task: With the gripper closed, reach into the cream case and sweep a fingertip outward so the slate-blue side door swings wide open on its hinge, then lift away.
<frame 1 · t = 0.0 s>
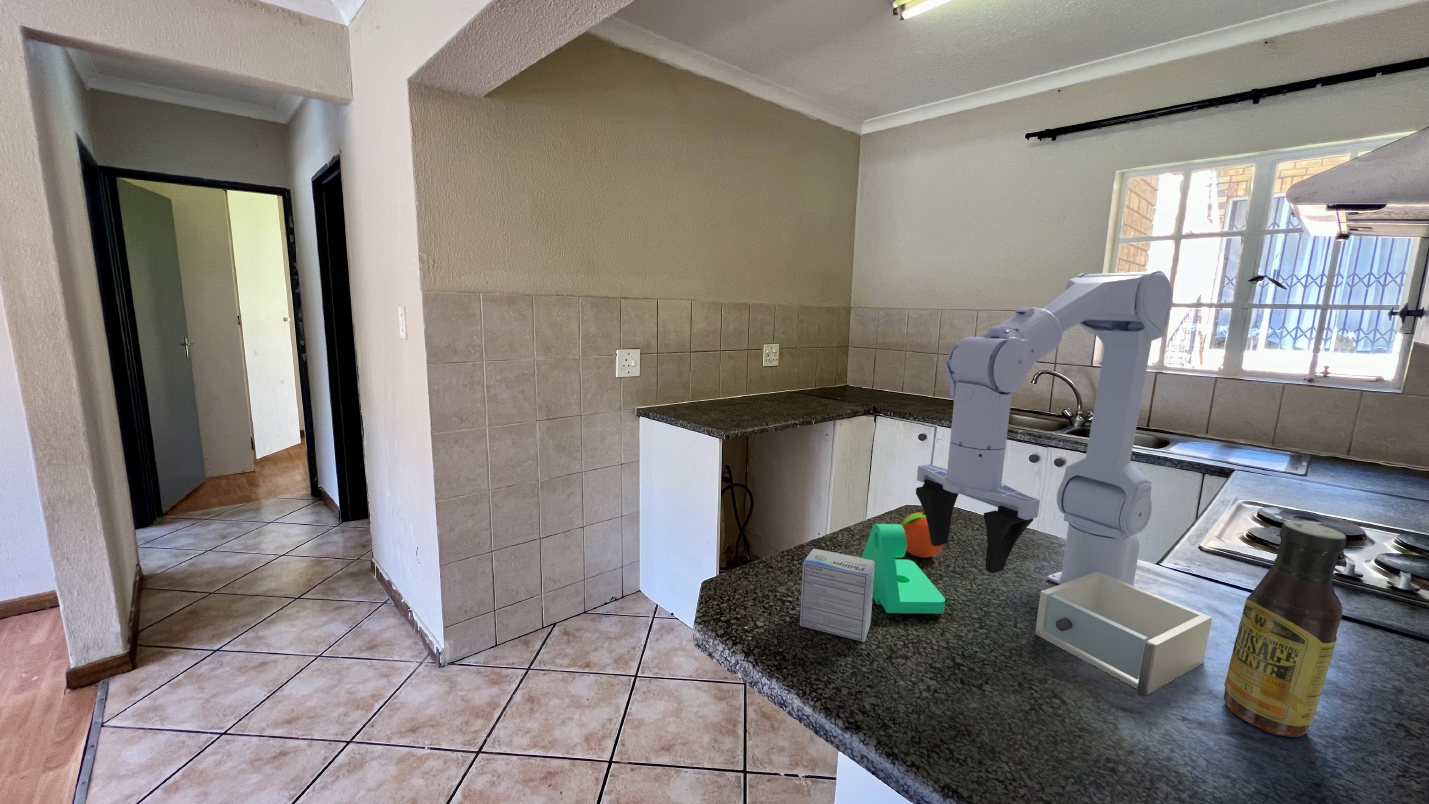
hand: (965, 556, 66), 10 cm above the countertop, tool pointing down, fingers open, 7 cm apart
medicine box: (834, 627, 69), on the countertop
sauce bottle: (1265, 721, 55), on the countertop
clementine: (917, 557, 89), on the countertop
camera mount: (899, 598, 77), on the countertop
case door: (1090, 635, 62), point 3 cm above the countertop, hinge at 0.0°
cream case: (1116, 647, 66), on the countertop
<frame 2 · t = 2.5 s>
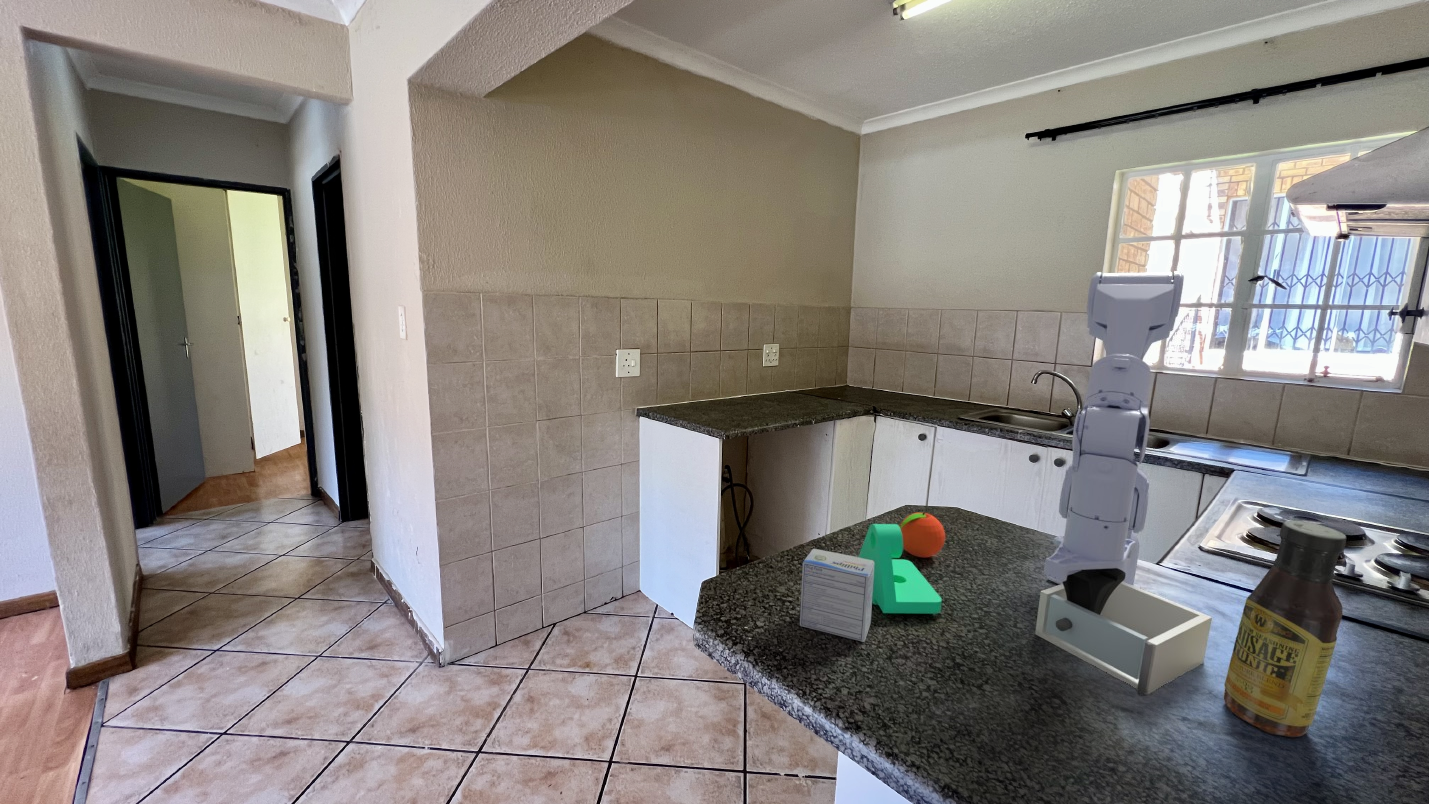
hand: (1081, 624, 65), 3 cm above the countertop, tool pointing down, fingers closed
case door: (1090, 635, 62), point 3 cm above the countertop, hinge at 0.1°, touching gripper
everything else where it was.
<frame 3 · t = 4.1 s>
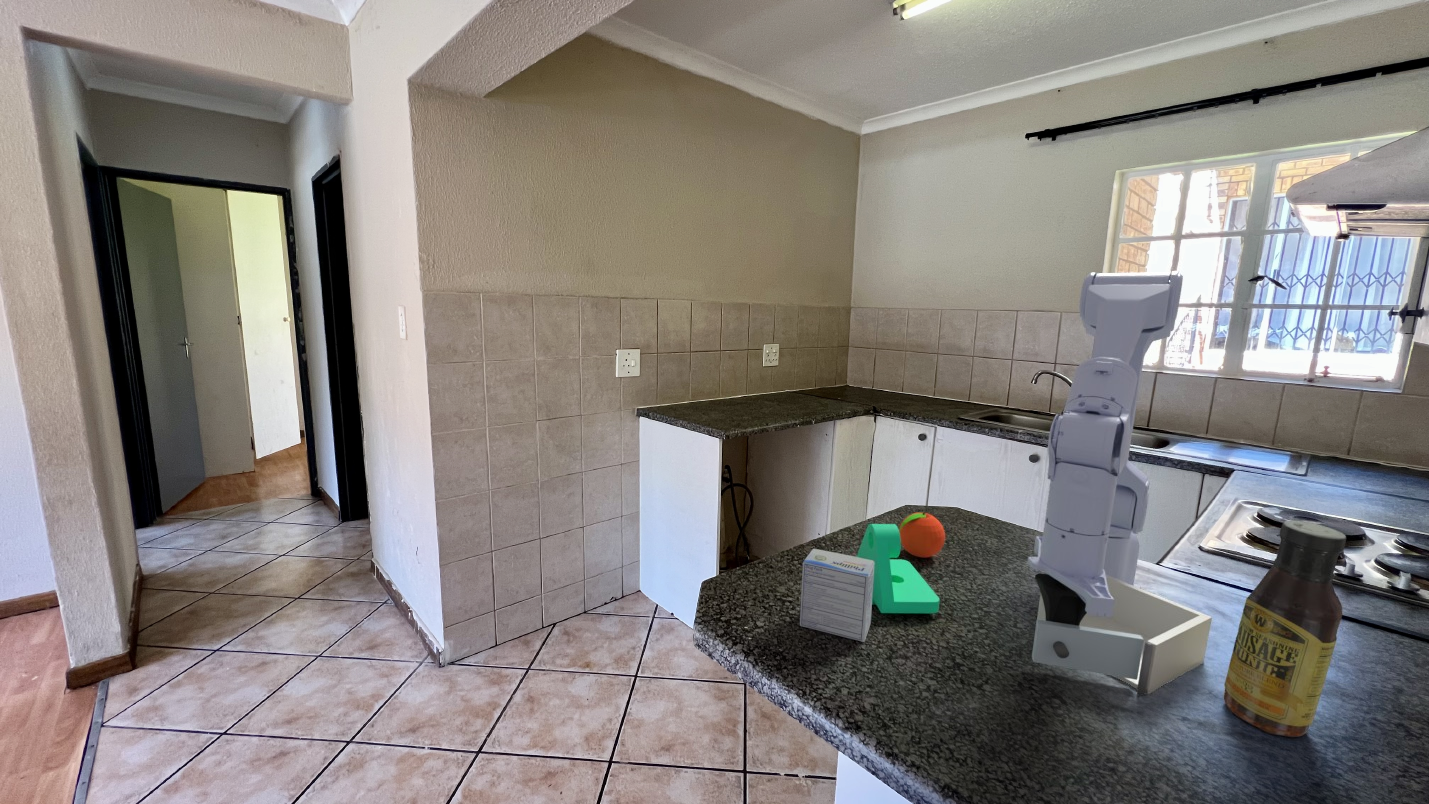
hand: (1059, 642, 61), 3 cm above the countertop, tool pointing down, fingers closed
case door: (1087, 652, 59), point 3 cm above the countertop, hinge at 46.6°, touching gripper
everything else where it was.
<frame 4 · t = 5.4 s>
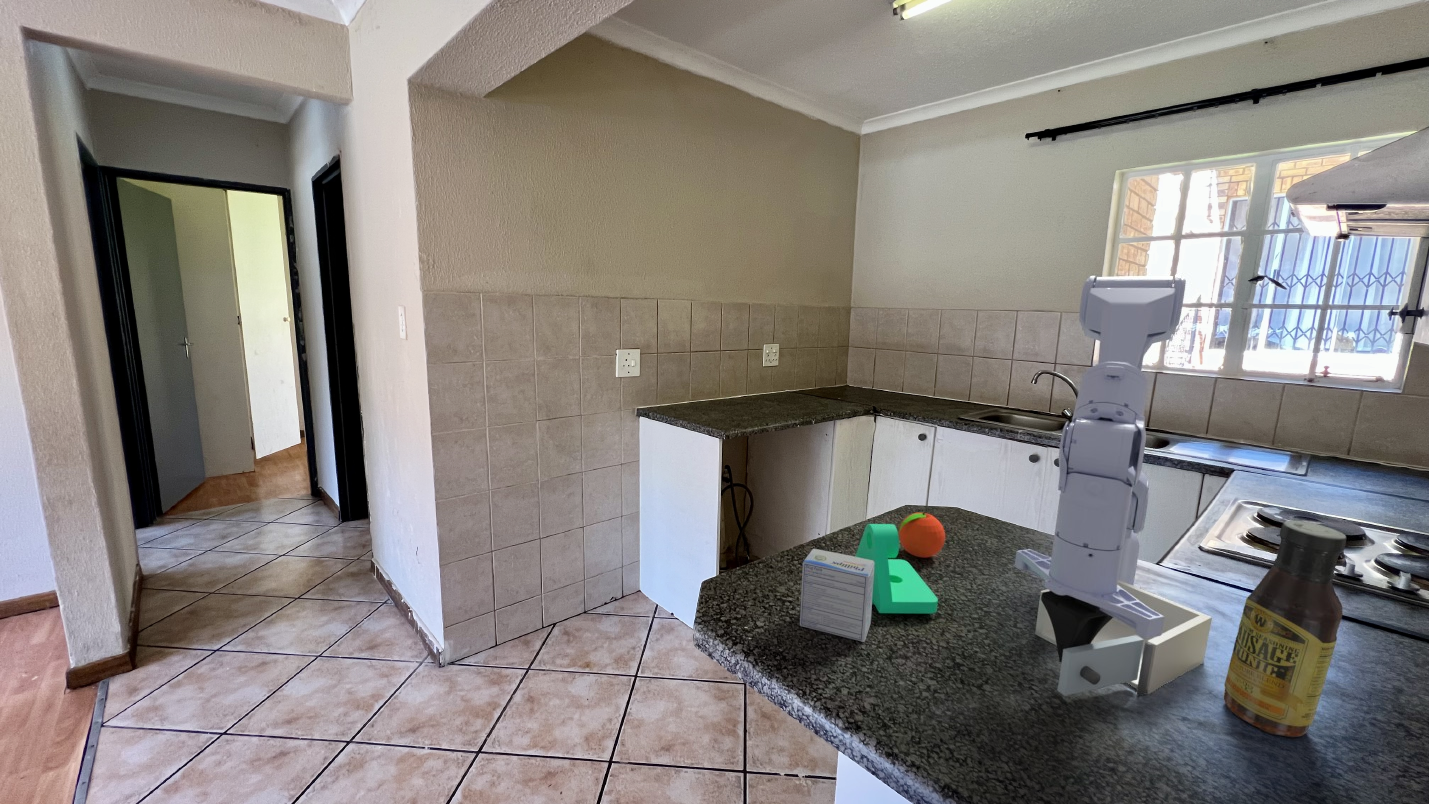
hand: (1070, 662, 58), 3 cm above the countertop, tool pointing down, fingers closed
case door: (1106, 668, 56), point 3 cm above the countertop, hinge at 78.7°, touching gripper
everything else where it was.
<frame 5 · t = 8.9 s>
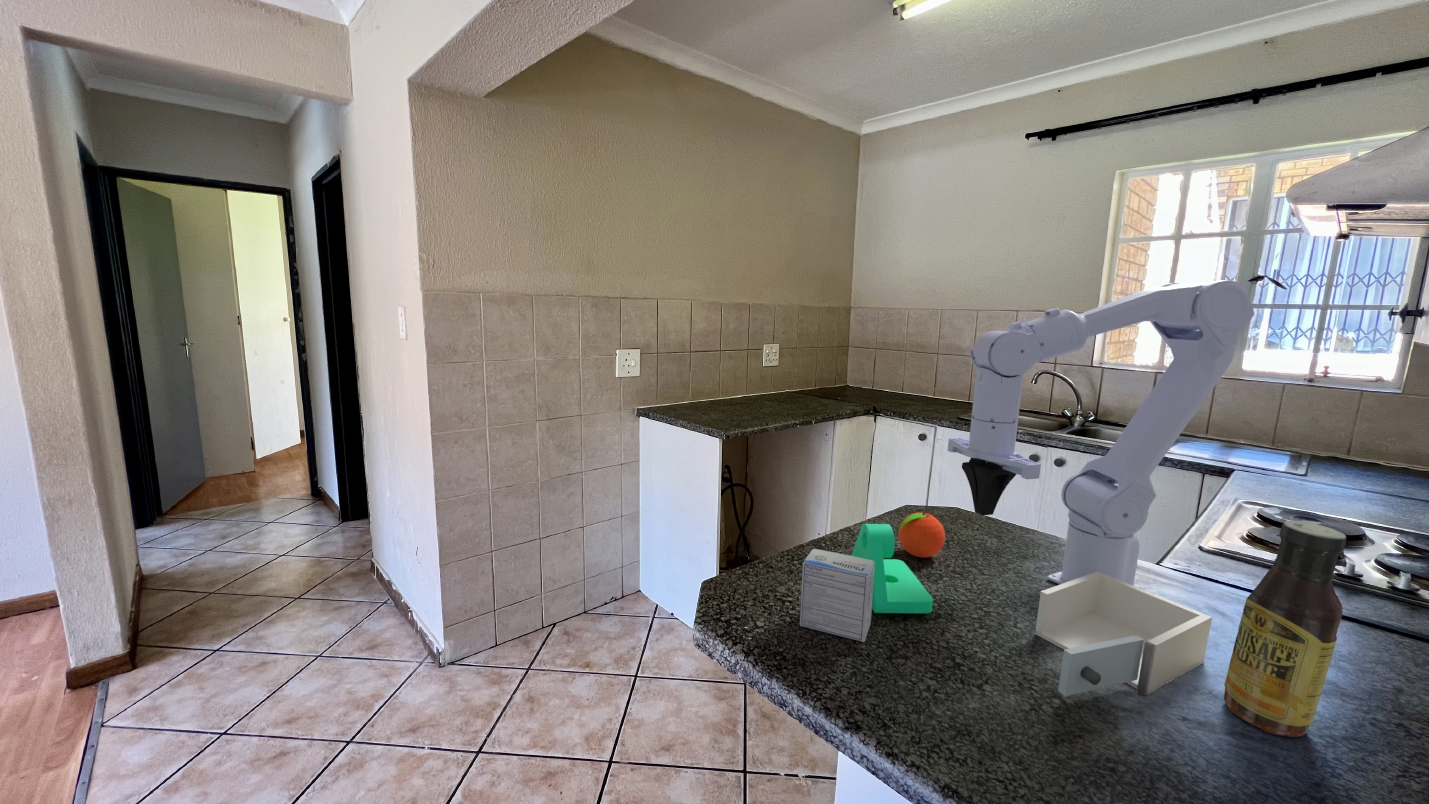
hand: (983, 513, 79), 10 cm above the countertop, tool pointing down, fingers closed
case door: (1107, 668, 56), point 3 cm above the countertop, hinge at 79.1°
at the end: case door at +79° (first picture: +0°) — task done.
